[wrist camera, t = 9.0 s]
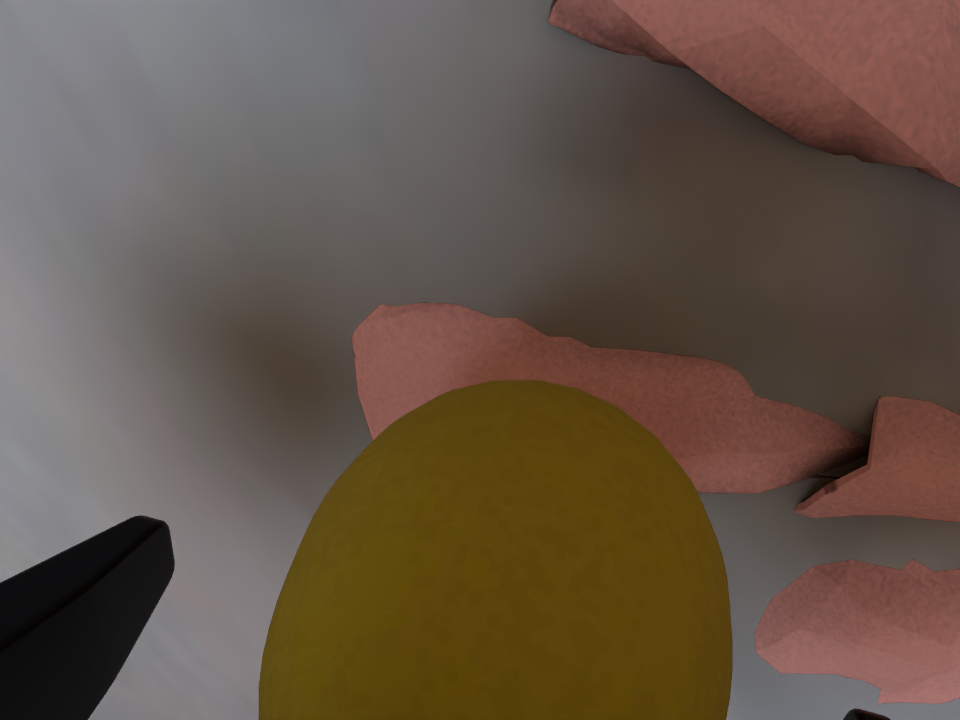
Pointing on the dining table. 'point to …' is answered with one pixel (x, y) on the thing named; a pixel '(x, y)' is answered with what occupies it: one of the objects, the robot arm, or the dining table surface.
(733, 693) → the dining table surface
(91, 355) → the dining table surface
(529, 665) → the lemon
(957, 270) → the dining table surface
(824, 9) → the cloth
